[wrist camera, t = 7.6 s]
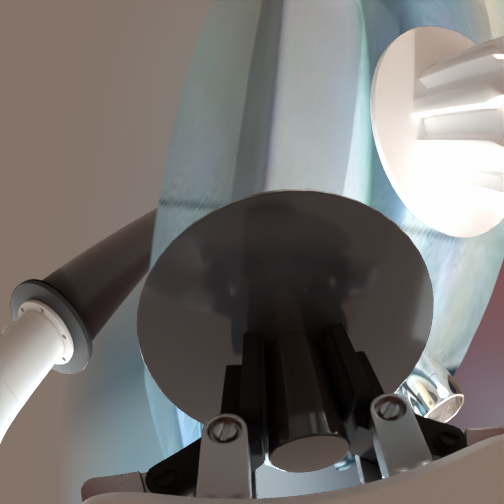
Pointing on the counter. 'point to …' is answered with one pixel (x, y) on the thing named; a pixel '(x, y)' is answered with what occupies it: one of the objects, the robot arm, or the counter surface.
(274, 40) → the counter surface
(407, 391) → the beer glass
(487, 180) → the ribbed cylinder on disc
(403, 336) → the lid
